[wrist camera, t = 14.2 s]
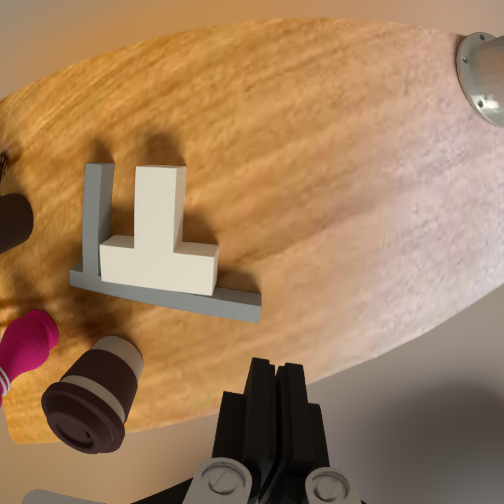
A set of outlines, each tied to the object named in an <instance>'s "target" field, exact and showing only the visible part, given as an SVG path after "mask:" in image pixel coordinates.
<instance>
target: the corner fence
mask: <svg viewBox="0 0 504 504" xmlns="http://www.w3.org/2000/svg"><path fill="white" fill-rule="evenodd" d="M114 165H115V163H107V162H94V163H86V169H85V182H84V198H83V232H82V249H83V261H80V262H79V263H77V264H76V265H74V266H73V267H72V268H70V269H69V280H70V286H74V287H78V288H82V289H86V290H91V291H95V292H99V293H103V294H107V295H112V296H116V297H121V298H125V299H130V300H134V301H139V302H144V303H148V304H153V305H158V306H163V307H168V308H173V309H178V310H184V311H189V312H194V313H200V314H205V315H211V316H217V317H223V318H229V319H235V320H241V321H247V322H254V323H258V321H259V316H260V311H261V294H257V293H251V292H245V291H239V290H233V289H227V288H221V287H214V291H213V294H212V296H210V295H202V294H193V293H185V292H177V291H169V290H161V289H154V288H146V287H139V286H132V285H125V284H118V283H112V282H105V281H102V278H101V263H100V244H102V243H103V242H105V241H106V240H108V239H109V238H110V216H111V200H112V186H113V175H114Z"/></svg>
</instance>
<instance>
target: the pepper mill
mask: <svg viewBox="0 0 504 504" xmlns="http://www.w3.org/2000/svg"><path fill="white" fill-rule="evenodd" d="M58 339H59V333H58V329H57V327H56V324H55V323H54V321H53V320H52V319H51V317H50V316H49V315H48V314H46V313H45V312H43V311H41V310H38V309H33V310H30V311H29V312H28V313H27V314H26V315H24V317H23V318H17V319H15V320H13V321H12V322H11V323H10V324H9V325H8V327H7V328H6V330H5V332H4V334H3V337H2V340H1V343H0V407H1V405H2V396H4V395H6V393H7V391H9V390H10V388H11V382H12V381H13V380H14V379H15V378H16V377H17V376H18V375H20V374H22V373H24V372H27V371H30V370H33V369H36V368H38V367H39V366H41V365H42V364H43V363H44V362H45V361H46V360H47V358H48V356H49V350H51V349H52V348H53V347H54V346H55V345H56V344H57V342H58Z"/></svg>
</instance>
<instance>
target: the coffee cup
mask: <svg viewBox="0 0 504 504" xmlns="http://www.w3.org/2000/svg"><path fill="white" fill-rule="evenodd" d="M142 370H143V360H142V357H141V355H140V353H139V351H138V350H137V349H136V348H135V347H134V346H133V345H132V344H131V343H130V342H128V341H127V340H125V339H123V338H121V337H118V336H105V337H102V338H101V339H99V340H98V341H97V342H96V343H95V344H94V345H93V346H92V348H91V349H90V350H88V351H86V352H85V353H84V354H83V355H82V356H81V357H80V358H79V359H78V360H77V361H76V362H75V363H74V364H73V365H72V367H71V368H70V369H69V370H68V371H67V372H66V373H65V374H64V375H63V376H62V378H61V379H60V381H59V382H56V383H53V384H51V385H50V386H49V387H48V388H47V390H46V391H45V392H44V394H43V395H42V399H41V404H42V409H43V411H44V414H45V415H46V417H47V422H48V425H49V427H50V428H51V430H52V431H53V432H54V434H55V435H56V436H57V437H58V438H59V439H60V440H62V441H63V442H64V443H66V444H67V445H68V446H70V447H72V448H74V449H76V450H78V451H80V452H83V453H87V454H97V453H110V452H113V451H116V450H117V449H118V448H119V447H120V446H121V444H122V441H123V439H124V436H125V428H124V424H125V422H126V420H127V417H128V414H129V411H130V409H131V406H132V403H133V400H134V397H135V394H136V391H137V387H138V381H139V378H140V375H141V373H142Z"/></svg>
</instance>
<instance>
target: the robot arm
mask: <svg viewBox="0 0 504 504" xmlns="http://www.w3.org/2000/svg"><path fill="white" fill-rule="evenodd" d="M456 63H457V72H458V76H459V80H460V83H461V86H462V89H463V91H464V93H465V95H466V97H467V99H468V101H469V102H470V104H471V106H472V107H473V108H474V110H475V111H476V112H477V113H478V114H479V115H480V116H481V117H482V118H483V119H484V120H485V121H487V122H488V123H490V124H492V125H494V126H497V127H504V36H501V37H498V38H495V37H494V36H492V35H490V34H487V33H481V32H477V33H473V34H471V35H468V36H466V37H465V38H464V39H463V40H462V41H461V43H460V45H459V47H458V51H457V59H456ZM257 499H258V503H259V504H366V503H365V502H363V501H362V500H360V498H359V495H358V493H357V490H356V487H355V484H354V482H353V480H352V479H351V477H350V476H349V475H348V474H347V473H345V472H344V471H342V470H340V469H336V468H333V467H330V464H329V458H328V451H327V445H326V438H325V432H324V426H323V420H322V414H321V409H320V406H319V404H313V403H308V399H307V391H306V384H305V377H304V370H303V365H301V364H294V363H285V365H284V366H279V367H278V370H277V373H276V376H275V365H272V364H269V360H267V359H261V358H255V357H253V358H252V361H251V365H250V369H249V373H248V377H247V381H246V385H245V389H244V393H243V394H238V393H232V392H227V391H224V392H223V397H222V402H221V407H220V412H219V418H218V423H217V429H216V435H215V441H214V446H213V452H212V458H211V459H210V460H207V461H205V462H204V463H202V464H201V465H200V466H199V468H198V469H197V471H196V473H195V476H194V477H193V478H191V479H188V480H186V481H184V482H182V483H180V484H178V485H175V486H173V487H171V488H169V489H166V490H164V491H162V492H159V493H157V494H154V495H152V496H149V497H147V498H144V499H142V500H139V501H137V502H134V503H131V504H255V502H256V501H257ZM22 504H105V503H100V502H94V501H89V500H83V499H79V498H74V497H69V496H65V495H61V494H57V493H53V492H50V491H46V490H38V489H37V490H33V491H30V492H29V493H27V494H26V495H25V496H24V499H23V501H22Z"/></svg>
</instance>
